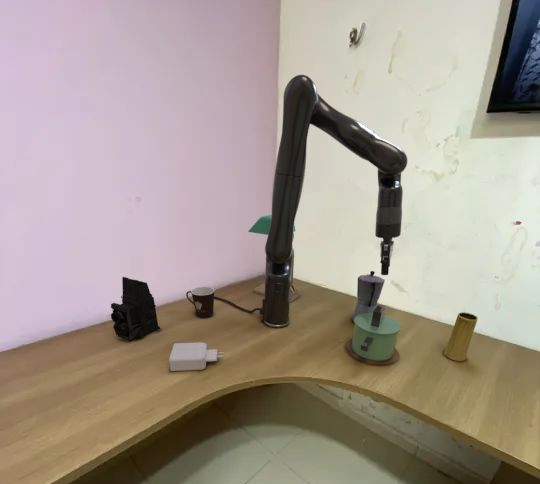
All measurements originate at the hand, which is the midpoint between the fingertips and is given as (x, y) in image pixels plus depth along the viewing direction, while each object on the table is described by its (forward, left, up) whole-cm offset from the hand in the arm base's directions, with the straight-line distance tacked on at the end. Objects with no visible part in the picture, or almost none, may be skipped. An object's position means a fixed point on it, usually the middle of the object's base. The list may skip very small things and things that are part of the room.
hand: (385, 270), depth 103 cm
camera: (-68, -50, -23) cm, 87 cm away
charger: (-39, -50, -23) cm, 67 cm away
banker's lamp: (-48, +9, -23) cm, 54 cm away
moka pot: (-5, +4, -23) cm, 24 cm away
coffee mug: (-61, -25, -23) cm, 70 cm away
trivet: (+3, -15, -23) cm, 27 cm away
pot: (+3, -18, -22) cm, 28 cm away
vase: (+26, -3, -23) cm, 35 cm away
